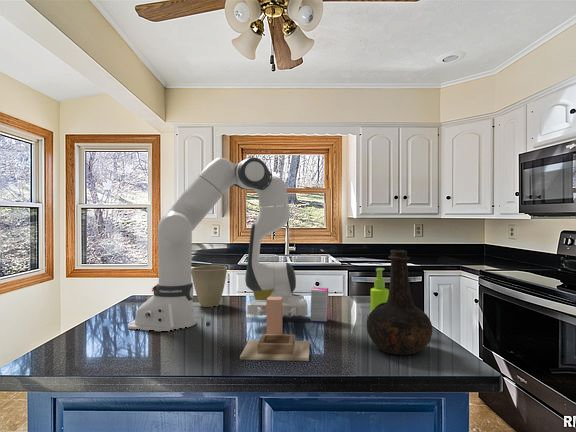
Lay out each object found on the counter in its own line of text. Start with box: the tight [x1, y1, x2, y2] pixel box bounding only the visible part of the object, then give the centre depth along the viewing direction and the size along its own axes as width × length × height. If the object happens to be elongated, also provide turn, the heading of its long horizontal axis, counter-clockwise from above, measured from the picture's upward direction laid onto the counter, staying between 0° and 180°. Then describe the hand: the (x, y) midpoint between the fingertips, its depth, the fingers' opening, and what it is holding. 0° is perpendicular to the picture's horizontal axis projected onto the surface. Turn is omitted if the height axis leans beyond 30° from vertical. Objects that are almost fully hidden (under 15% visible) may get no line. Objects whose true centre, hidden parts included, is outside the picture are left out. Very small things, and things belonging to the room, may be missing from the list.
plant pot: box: [191, 265, 228, 308], centre depth 168 cm, size 15×15×16 cm
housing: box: [239, 333, 311, 362], centre depth 111 cm, size 18×14×3 cm
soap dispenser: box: [369, 267, 389, 313], centre depth 133 cm, size 6×7×20 cm
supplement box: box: [309, 286, 329, 324], centre depth 143 cm, size 6×6×12 cm
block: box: [266, 297, 284, 334], centre depth 124 cm, size 4×4×12 cm
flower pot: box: [252, 289, 274, 300], centre depth 167 cm, size 9×9×9 cm
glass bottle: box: [366, 249, 433, 356], centre depth 112 cm, size 18×18×28 cm
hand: (275, 313), depth 127 cm, fingers open, 8 cm apart
